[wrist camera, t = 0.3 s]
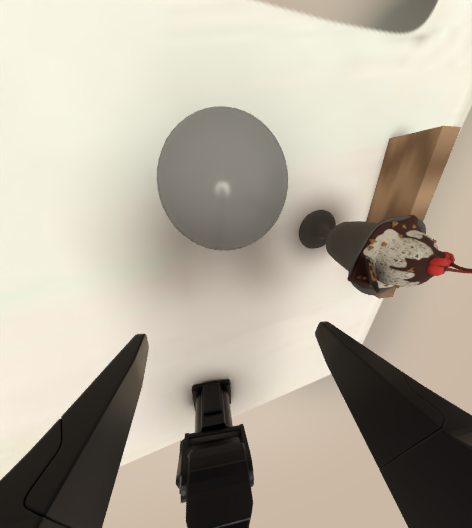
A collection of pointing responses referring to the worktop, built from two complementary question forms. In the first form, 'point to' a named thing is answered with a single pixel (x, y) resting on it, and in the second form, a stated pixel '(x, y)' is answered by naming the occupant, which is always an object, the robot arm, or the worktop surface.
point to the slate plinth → (222, 178)
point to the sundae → (379, 250)
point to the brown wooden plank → (411, 175)
